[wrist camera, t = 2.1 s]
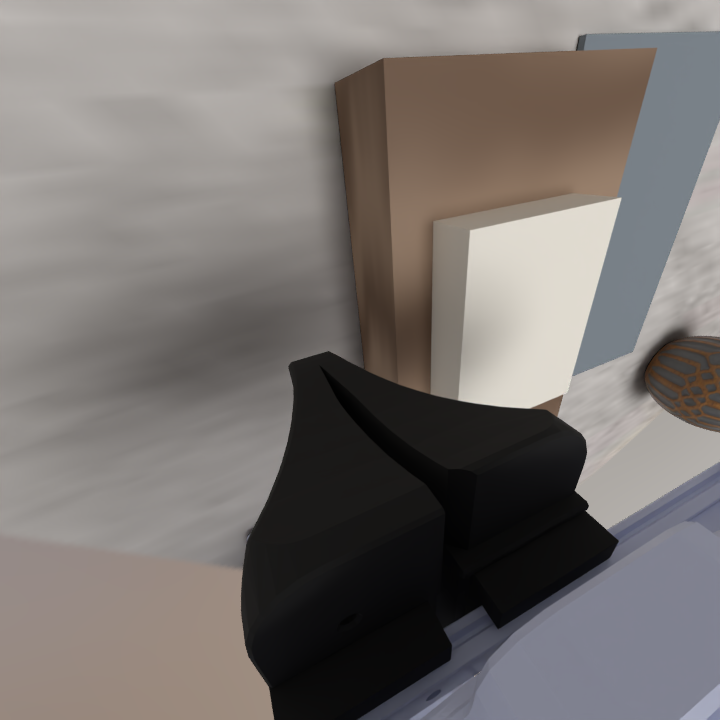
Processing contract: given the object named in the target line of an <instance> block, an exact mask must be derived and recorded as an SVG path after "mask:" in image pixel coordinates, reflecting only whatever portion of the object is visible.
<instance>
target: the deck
mask: <svg viewBox="0 0 720 720" xmlns="http://www.w3.org/2000/svg"><path fill="white" fill-rule="evenodd" d="M656 51H657V48H635V49H609V50H583V51H557V52H532V53H506V54H480V55H455V56H429V57H403V58H383V59H381V60H379V61H377V62H375V63H373V64H371V65H369V66H367V67H365V68H363V69H361V70H359V71H357V72H355V73H353V74H351V75H350V76H348V77H346V78H344V79H342V80H340V81H338V82H336V83H335V92H336V101H337V111H338V120H339V130H340V139H341V149H342V158H343V168H344V177H345V187H346V196H347V206H348V215H349V225H350V234H351V244H352V253H353V263H354V272H355V282H356V291H357V301H358V310H359V320H360V329H361V339H362V348H363V358H364V367H365V370H366V371H368V372H370V373H373V374H375V375H377V376H379V377H382V378H384V379H387V380H389V381H392V382H394V383H397V384H399V385H402V386H405V387H408V388H411V389H414V390H418V391H421V392H424V393H428V394H431V333H432V271H433V221H436V220H441V219H446V218H451V217H456V216H461V215H466V214H471V213H476V212H481V211H486V210H491V209H496V208H501V207H506V206H511V205H516V204H521V203H526V202H531V201H536V200H541V199H546V198H552V197H557V196H562V195H567V194H572V193H576V194H587V195H599V196H610V197H617V195H618V191H619V187H620V184H621V180H622V176H623V173H624V169H625V165H626V162H627V158H628V154H629V151H630V147H631V143H632V140H633V136H634V132H635V129H636V125H637V121H638V117H639V114H640V110H641V106H642V103H643V99H644V95H645V92H646V88H647V84H648V81H649V77H650V73H651V70H652V66H653V62H654V59H655V55H656ZM562 397H563V395H561V396H558V397H556V398H553V399H551V400H549V401H546V402H544V403H542V404H539V405H537V406H535V407H532V408H530V409H545V410H548V411H549V412H551V413H552V414H554V415H555V416H556V417H557V416H558V412H559V409H560V405H561V401H562Z"/></svg>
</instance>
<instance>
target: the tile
mask: <svg viewBox="0 0 720 720" xmlns="http://www.w3.org/2000/svg"><path fill="white" fill-rule="evenodd" d="M620 202H621V197H610V196H599V195H587V194H576V193H572V194H567V195H562V196H557V197H552V198H546V199H541V200H536V201H531V202H526V203H521V204H516V205H511V206H506V207H501V208H496V209H491V210H486V211H481V212H476V213H471V214H466V215H461V216H456V217H451V218H446V219H441V220H436V221H433V271H432V333H431V395H435V396H439V397H444V398H449V399H454V400H458V401H464V402H470V403H476V404H484V405H492V406H500V407H513V408H529V409H530V408H532V407H535V406H537V405H539V404H542V403H544V402H546V401H549V400H551V399H553V398H556V397H558V396H561V395H563V394H565V393H567V392H568V389H569V385H570V382H571V378H572V374H573V371H574V367H575V364H576V360H577V357H578V353H579V349H580V346H581V342H582V339H583V335H584V331H585V328H586V324H587V321H588V317H589V313H590V310H591V306H592V303H593V299H594V295H595V292H596V288H597V285H598V281H599V277H600V274H601V270H602V267H603V263H604V260H605V256H606V252H607V249H608V245H609V242H610V238H611V234H612V231H613V227H614V224H615V220H616V216H617V213H618V209H619V206H620Z"/></svg>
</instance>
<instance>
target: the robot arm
mask: <svg viewBox="0 0 720 720" xmlns="http://www.w3.org/2000/svg"><path fill="white" fill-rule="evenodd" d="M288 367H289V371H290V375H291V379H292V383H293V388H294V401H293V412H292V421H291V427H290V433H289V437H288V442H287V446H286V450H285V453H284V457H283V460H282V463H281V466H280V469H279V472H278V475H277V477H276V480H275V482H274V485H273V487H272V490H271V492H270V495H269V497H268V500H267V502H266V504H265V506H264V508H263V510H262V512H261V514H260V516H259V518H258V520H257V522H256V524H255V526H254V528H253V530H252V532H251V533H250V534H249V535H248V537H247V545H246V552H245V559H244V566H243V576H242V588H241V589H242V590H241V614H242V623H243V630H244V639H245V646H246V650H247V653H248V656H249V658H250V659H251V661H252V662H253V664H254V666H255V667H256V669H257V670H258V672H259V673H260V674H261V676H262V677H263V679H264V680H265V682H266V683H267V685H268V686H269V690H270V696H271V702H272V709H273V714H274V720H720V462H718V463H717V464H715V465H713V466H712V467H710V468H708V469H707V470H705V471H703V472H702V473H700V474H698V475H697V476H695V477H693V478H692V479H690V480H688V481H687V482H685V483H683V484H682V485H680V486H679V487H677V488H675V489H674V490H672V491H670V492H669V493H667V494H665V495H664V496H662V497H660V498H659V499H657V500H656V501H654V502H652V503H650V504H649V505H647V506H645V507H644V508H642V509H640V510H639V511H637V512H635V513H634V514H632V515H631V516H629V517H627V518H626V519H624V520H622V521H621V522H619V523H617V524H616V525H614V526H612V527H611V528H609V529H607V530H606V529H605V528H604V527H603V526H602V525H601V524H599V523H598V522H597V521H596V520H595V519H594V518H593V517H591V516H590V515H589V514H588V513H587V512H586V510H587V509H588V507H589V505H588V503H587V501H586V500H584V499H583V498H582V497H581V496H580V495H579V494H577V493H576V492H575V488H576V486H577V483H578V480H579V477H580V475H581V472H582V469H583V466H584V463H585V459H586V455H587V448H586V440H585V438H584V437H583V436H582V434H581V433H579V432H578V431H577V430H575V429H574V428H572V427H571V426H569V425H568V424H567V423H565V422H564V421H562V420H561V419H559V418H558V417H556V416H555V415H554V414H552V413H551V412H549V411H548V410H545V409H529V408H513V407H500V406H492V405H484V404H476V403H470V402H464V401H458V400H454V399H449V398H444V397H439V396H435V395H431V394H428V393H424V392H421V391H418V390H414V389H411V388H408V387H405V386H402V385H399V384H397V383H394V382H392V381H389V380H387V379H384V378H382V377H379V376H377V375H375V374H373V373H370V372H368V371H366V370H364V369H362V368H360V367H358V366H356V365H354V364H352V363H350V362H348V361H346V360H345V359H343V358H341V357H339V356H337V355H335V354H333V353H331V352H329V351H328V352H324V353H321V354H317V355H314V356H311V357H307V358H304V359H301V360H297V361H294V362H291V363H290V365H289V366H288ZM479 672H480V673H479ZM478 673H479V674H478ZM476 674H477V675H476ZM474 675H476V676H475V677H474Z"/></svg>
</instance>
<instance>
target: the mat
mask: <svg viewBox="0 0 720 720" xmlns="http://www.w3.org/2000/svg"><path fill="white" fill-rule="evenodd" d="M635 48H657V51H656V55H655V59H654V62H653V66H652V70H651V73H650V77H649V81H648V84H647V88H646V92H645V95H644V99H643V103H642V106H641V110H640V114H639V117H638V121H637V125H636V129H635V132H634V136H633V140H632V143H631V147H630V151H629V154H628V158H627V162H626V165H625V169H624V173H623V176H622V180H621V184H620V187H619V191H618V195H617V197H621V202H620V206H619V209H618V213H617V216H616V220H615V224H614V227H613V231H612V234H611V238H610V242H609V245H608V249H607V252H606V256H605V260H604V263H603V267H602V270H601V274H600V277H599V281H598V285H597V288H596V292H595V295H594V299H593V303H592V306H591V310H590V313H589V317H588V321H587V324H586V328H585V331H584V335H583V339H582V342H581V346H580V349H579V353H578V357H577V360H576V364H575V367H574V371H573V374H572V376H574V375H577V374H579V373H582V372H584V371H587V370H589V369H592V368H594V367H596V366H599V365H601V364H604V363H606V362H609V361H611V360H614V359H616V358H619V357H621V356H623V355H626V354H628V353H631V352H633V350H634V347H635V345H636V342H637V339H638V337H639V334H640V331H641V328H642V326H643V323H644V320H645V318H646V315H647V312H648V310H649V307H650V304H651V302H652V299H653V296H654V294H655V291H656V288H657V286H658V283H659V280H660V278H661V275H662V272H663V270H664V267H665V264H666V262H667V259H668V256H669V254H670V251H671V248H672V246H673V243H674V240H675V238H676V235H677V232H678V230H679V227H680V224H681V222H682V219H683V216H684V214H685V211H686V208H687V206H688V203H689V200H690V198H691V195H692V192H693V190H694V187H695V184H696V182H697V179H698V176H699V174H700V171H701V168H702V166H703V163H704V160H705V157H706V155H707V152H708V149H709V147H710V144H711V141H712V139H713V136H714V133H715V131H716V128H717V125H718V123H719V120H720V31H719V32H669V33H620V34H586V35H582V36H580V38H579V43H578V49H577V51H583V50H609V49H635Z"/></svg>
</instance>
